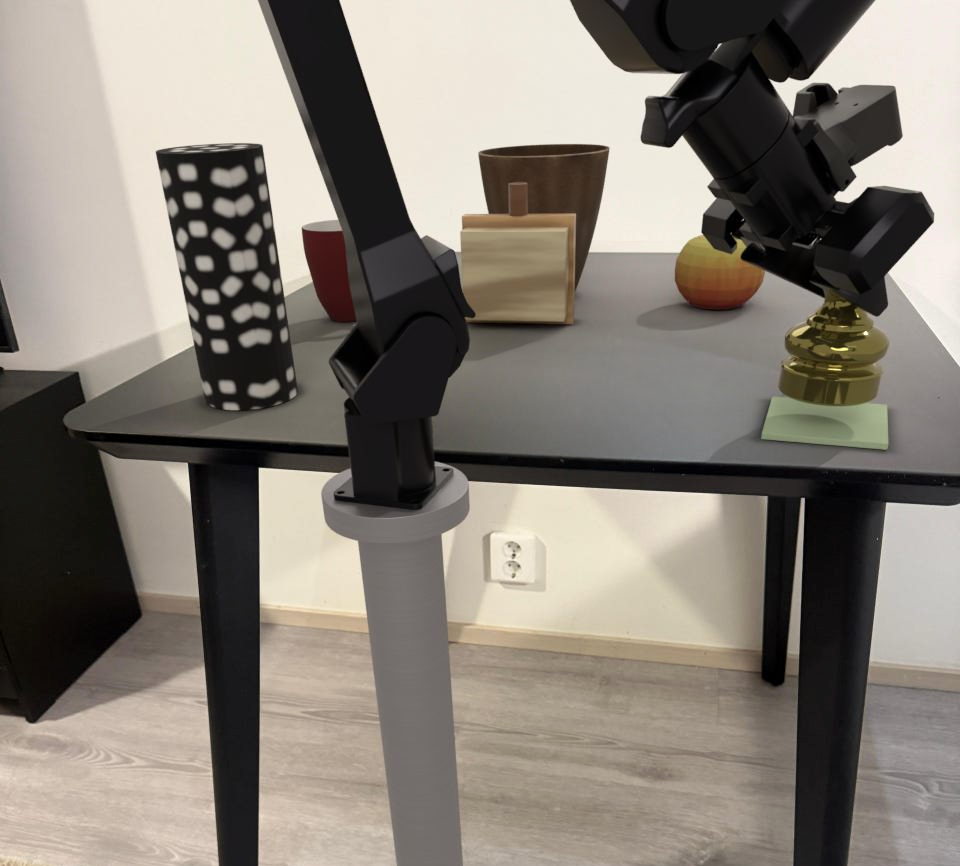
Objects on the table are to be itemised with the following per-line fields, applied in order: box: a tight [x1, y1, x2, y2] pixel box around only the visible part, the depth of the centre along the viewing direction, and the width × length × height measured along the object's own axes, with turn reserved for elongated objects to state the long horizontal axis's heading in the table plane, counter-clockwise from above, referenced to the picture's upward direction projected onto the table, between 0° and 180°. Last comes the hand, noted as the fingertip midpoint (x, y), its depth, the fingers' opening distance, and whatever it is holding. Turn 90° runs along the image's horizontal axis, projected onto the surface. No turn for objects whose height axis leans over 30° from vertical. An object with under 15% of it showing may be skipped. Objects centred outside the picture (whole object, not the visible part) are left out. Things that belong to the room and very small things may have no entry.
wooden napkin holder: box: [459, 182, 576, 325], centre depth 98 cm, size 5×12×14 cm, turn 77°
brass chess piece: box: [777, 268, 890, 406], centre depth 68 cm, size 7×7×10 cm
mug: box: [301, 219, 357, 323], centre depth 104 cm, size 11×8×10 cm
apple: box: [674, 234, 766, 311], centre depth 104 cm, size 10×10×8 cm
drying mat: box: [760, 396, 889, 451], centre depth 73 cm, size 9×9×1 cm
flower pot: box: [477, 143, 611, 292], centre depth 109 cm, size 15×15×16 cm
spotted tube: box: [155, 142, 299, 411], centre depth 79 cm, size 8×8×20 cm
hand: (859, 303), depth 68 cm, fingers closed on brass chess piece, 5 cm apart
